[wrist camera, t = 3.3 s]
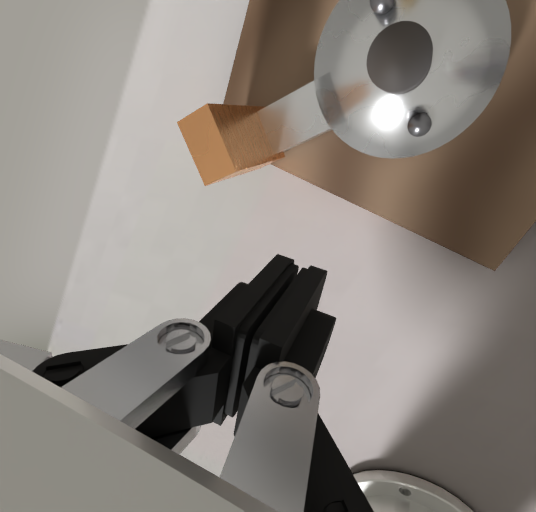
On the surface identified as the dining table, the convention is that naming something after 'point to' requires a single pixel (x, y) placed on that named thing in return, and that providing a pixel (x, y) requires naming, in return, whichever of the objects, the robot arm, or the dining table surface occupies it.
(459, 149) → the walnut board
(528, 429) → the dining table surface
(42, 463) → the robot arm
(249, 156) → the crank handle
